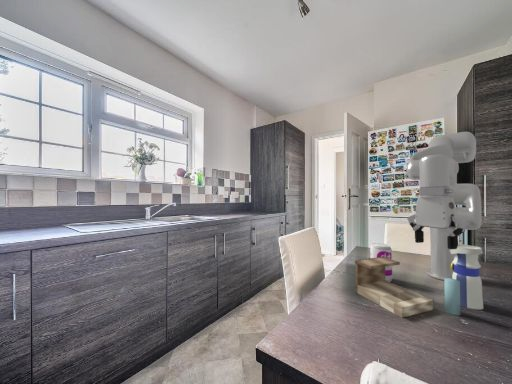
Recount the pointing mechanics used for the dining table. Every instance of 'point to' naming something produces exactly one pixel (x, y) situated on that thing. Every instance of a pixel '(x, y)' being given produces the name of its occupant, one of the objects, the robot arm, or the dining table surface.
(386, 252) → the supplement can
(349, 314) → the dining table surface
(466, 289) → the water bottle
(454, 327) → the dining table surface
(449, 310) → the peg
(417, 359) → the dining table surface
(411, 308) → the socket block
